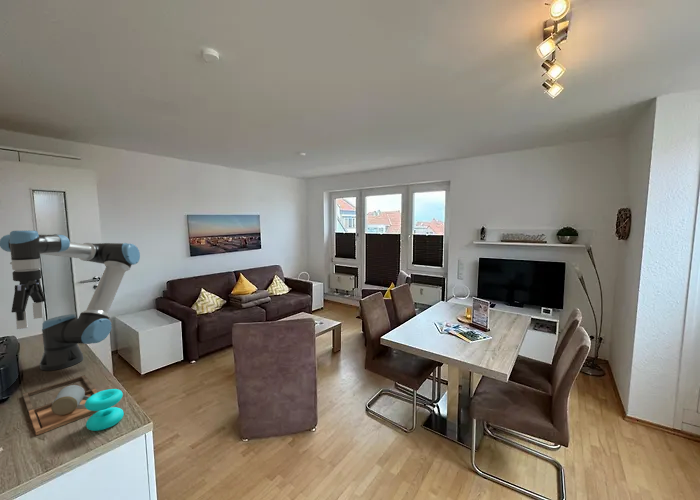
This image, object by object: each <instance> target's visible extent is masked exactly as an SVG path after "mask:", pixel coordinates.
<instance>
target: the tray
mask: <svg viewBox="0 0 700 500" xmlns="http://www.w3.org/2000/svg"><path fill="white" fill-rule="evenodd" d="M79 381H82V382H83V384H85V386H86V387H87V388H88V390H84V391H85V396H88V397H90V396H92V395H94V394H95V393H98V392H99V391H98V390H97V389H96V388H95V386H94V385H93V384H92V382H91V381H90V380H89V379H88V377H87V376H86V374H85V375H80V376H77V377H73V378H71V379H68V380H67V379H66V380H64V381H61V382H57V383H54V384H50V385H47V386H43V387H40V388H37V389H35V390H30V391H27V392H24V393H22V398H23V401H24V404H25V407H26V410H27V413H28V415H29V418H30V422H31V424H32V427H33V431H34V433H35V436H38V435H42V434H45V433H47V432H49V431H52V430H56V428H59V427H62V426H65V425H68V424H70V423H73V422H75V421H78V420H80V419H83V418H85V417H86V418H87V417H88V416H89V417H90V416H92V415H93V414H95V413H96V412H98V411H90V410H88V409H86V408H85V409H78V408H76V409H75V410H74V411H73V412H71V413H69V414H67V415H56V414H54V413H53V412H52V409H51V407H52V403H53V401H52V402H50V403H47V404H44V405H41V406H40V405H39V406H38V407H34V406H33V404H32V401H31V398H30V396H33V395H34V396H35V395H37V394H39V393H43V392H46V391H49V390H53V389H56V388H59V387H63V386H67V385H69V384H70V385H71V384H72V383H75V382H79ZM85 402H86V400H82V401H81V402H80V404H81V405H85ZM37 416H38V418H37ZM38 419H39V420H38ZM40 425H41V426H40Z"/></svg>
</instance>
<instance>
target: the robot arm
mask: <svg viewBox="0 0 700 500" xmlns="http://www.w3.org/2000/svg"><path fill="white" fill-rule="evenodd" d="M0 248H1V250H3V251H5V252H7V253H10V256H11V257H10V259H11V262H10V263H9V264H10V265H11V267H12V270H13V271H12V281H13V282H19V284H16V285H14V295H13V299H12V306H11V312H10V313H15V320H16V321H15V322H16V330H21V329H28V328H29V322H28V311H27V310H26V308H27V306H28V305H27V304H28V301H29V297H30V298H31V300H32V301H33V303H32V313H33V319H34V320H35V319H43V318H44V306H43V303H44V302H46V298H45V295H44V291H43V288H42V284H41V280H40V279H42V270H41V268H42V267H41V266H42V265H41V264H42V263H41V255H44V256H54V257H64V258H72V259H73V258H74V259H80V260H81V261H83V262H92V263H97V264H103V265H104V266H105V268H104V270H103V273H102V275H101V277H100V279H99V281H98V284H97V285H96V288H95V290H94V292H93V294H92V297H91V299H90V301H89V303H88V306H87V308H86V310H84V311H81V312H80V314H79V316H78V317H77V316H76V314H73V313H72V314H64V315H59V316H55V317H51V318H48V319H46V320H44V321H43V323H42V326H41V327H42V329H41V332H42V333H41V334H42V340H43V343H42V344H43V354H42V357H41V359H40V363H39V370H41V371H45V372H46V371H55V370H61V369H66V368H69V367H72V366H75V365H77V364H79V363H80V362H82V361H83V360H84V353H83V352H82V350H81V348H80V346H79V344H85V345H91V344H98V343H101V342H102V341H104V340H106V339H107V338H108V337H109V335H110V333H111V331H112V322H111V320H110V315H109V311H110V309H111V306H112V305H113V303H114V302H113V301H114V299H115V297H116V294H117V292H118V290H119V287H120V285H121V283H122V280H123V278H124V275H125V274H126V272H128V271H130V270H131V267H132V266H134V265H136V264H138V263H139V262H140V258H141V253H140V250H139V248H138V247H137V246H136V244H134V243H127V242H124V243H120V242H118V243H116V242H103V243H102V242H100V243H98V242H97V243H91V242H84V243H78V242H73V241H70V238H68V237H67V236H66V235H64V234H58V233H57V234H56V233H55V234H39V232H38V231H37V230H11V231H9V234H5V235H3V236H2V237H1V238H0Z"/></svg>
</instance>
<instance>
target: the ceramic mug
mask: <svg viewBox="0 0 700 500" xmlns="http://www.w3.org/2000/svg"><path fill="white" fill-rule="evenodd" d="M85 391H86V390H85V389H84V388H83V387H82V386H80V385H77V384H72V385H71V384H70V385H68V386H67V385H66V386H65V387H63V388H62V389H61V390H59V391H58V393H57V395H56V397H55V398H54V400H53V401H52V402H53V403H52V402H51V403H52V407H51V409H52V412H53V413H54V414H56V415H67V414H69V413H71V412H73V411H74V410H75V409H76V408H78V409H85V405H81V404H80V402H81V401H82V400H87V399H88V398H89V397H88V396H85Z"/></svg>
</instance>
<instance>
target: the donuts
mask: <svg viewBox="0 0 700 500" xmlns="http://www.w3.org/2000/svg"><path fill="white" fill-rule="evenodd" d="M91 395H92V396H90V397H89V398H88V399H87V400H86V402H85V408H86V409H88V410H90V411H98V412H96V413H94V414H91V415H90V416H89V418H88V419H87V420H86V424H85V427H86V429H87V430H89V431H93V432H95V431H96V432H98V431H105V430H106V429H110V428H112V427H113V426H116V425H117V424H118V423H120V422H121V420H122V419H123V418H124V415H125V413H124V410H123V409H122V408H120V407H116V405H117V404H118V403H120V401H121V400H122V398H123V397H124V393H123V391H122V390H121V389H118V388H110V389H109V388H108V389H103V390H100V391H98V393H95V394H94V395H93V394H91Z"/></svg>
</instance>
